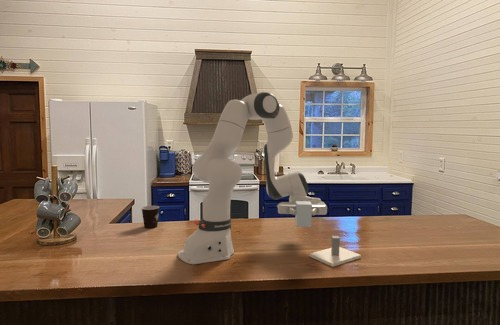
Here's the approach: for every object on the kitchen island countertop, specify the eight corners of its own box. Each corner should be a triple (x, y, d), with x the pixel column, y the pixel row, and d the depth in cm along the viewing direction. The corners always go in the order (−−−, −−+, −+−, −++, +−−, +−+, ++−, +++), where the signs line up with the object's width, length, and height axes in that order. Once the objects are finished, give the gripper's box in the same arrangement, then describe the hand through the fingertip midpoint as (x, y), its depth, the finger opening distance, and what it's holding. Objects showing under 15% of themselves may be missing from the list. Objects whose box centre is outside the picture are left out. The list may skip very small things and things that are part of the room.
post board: (332, 266, 125) (333, 245, 125) (309, 256, 135) (310, 236, 134) (360, 257, 134) (361, 237, 133) (337, 248, 144) (338, 229, 143)
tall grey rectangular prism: (296, 226, 134) (296, 204, 133) (295, 222, 140) (295, 201, 139) (311, 227, 134) (311, 204, 133) (309, 222, 140) (310, 201, 139)
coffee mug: (149, 230, 168) (148, 210, 167) (138, 227, 173) (138, 207, 172) (167, 225, 177) (167, 206, 176) (157, 222, 182) (156, 203, 181)
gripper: (276, 197, 149) (277, 204, 136) (323, 198, 148) (329, 205, 135) (276, 211, 150) (277, 220, 136) (323, 212, 149) (329, 221, 135)
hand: (303, 213), depth 135 cm, fingers closed on tall grey rectangular prism, 6 cm apart
